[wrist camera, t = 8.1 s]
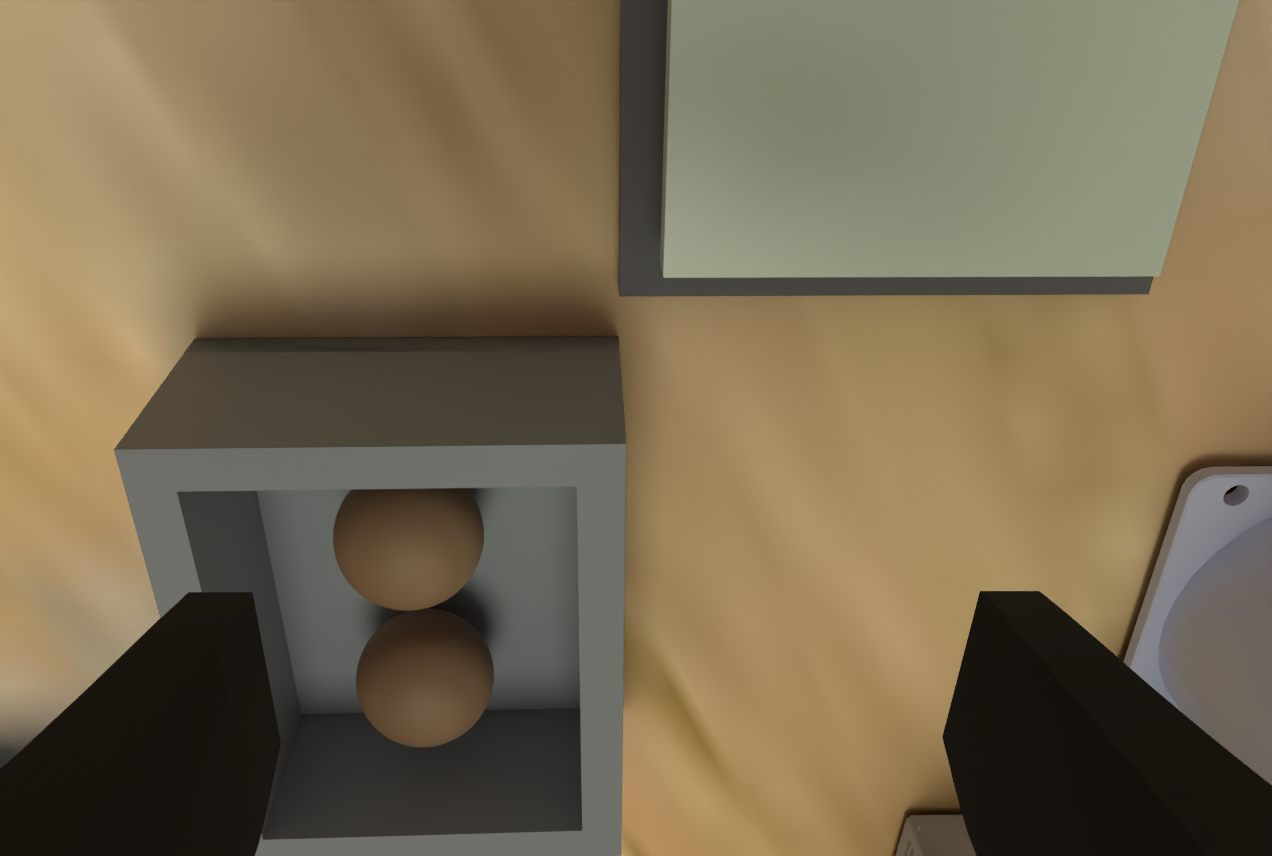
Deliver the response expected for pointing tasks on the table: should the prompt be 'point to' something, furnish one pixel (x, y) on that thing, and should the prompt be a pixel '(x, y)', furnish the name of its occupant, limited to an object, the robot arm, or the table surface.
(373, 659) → the bead
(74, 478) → the table surface
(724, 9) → the lid
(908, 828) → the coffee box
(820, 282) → the mat
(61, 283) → the table surface
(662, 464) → the table surface
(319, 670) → the tub
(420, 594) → the bead
